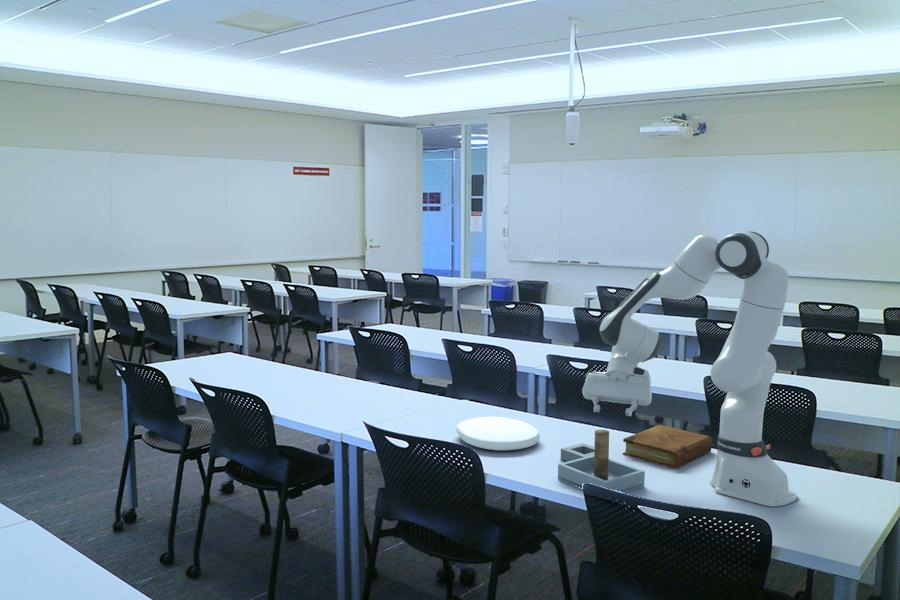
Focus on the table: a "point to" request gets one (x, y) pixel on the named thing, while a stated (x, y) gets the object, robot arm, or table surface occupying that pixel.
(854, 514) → the table surface
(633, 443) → the diary
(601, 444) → the dowel
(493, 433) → the plate
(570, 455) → the socket block
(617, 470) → the tray
